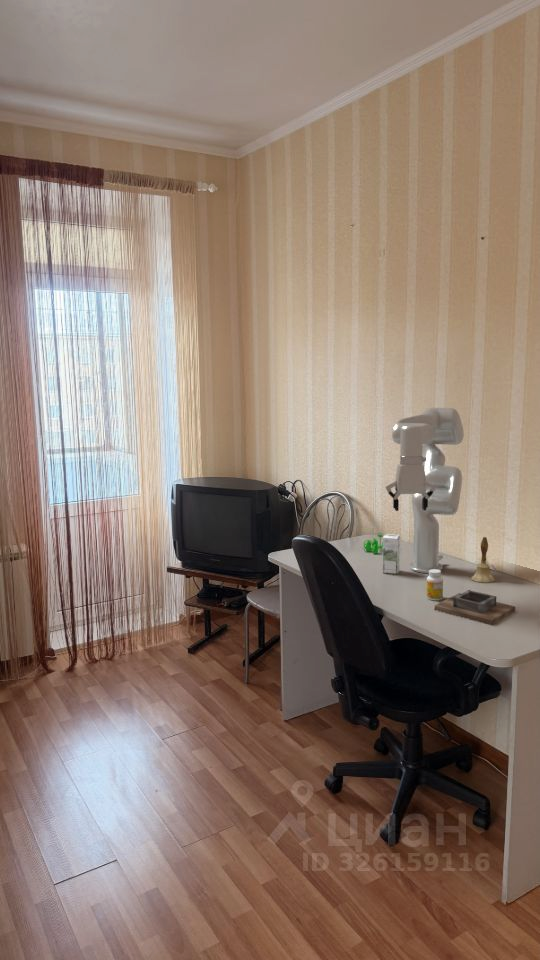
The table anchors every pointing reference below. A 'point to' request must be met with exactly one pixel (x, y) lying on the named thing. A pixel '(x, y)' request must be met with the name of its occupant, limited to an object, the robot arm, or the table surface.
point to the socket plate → (476, 607)
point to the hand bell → (483, 566)
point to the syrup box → (391, 553)
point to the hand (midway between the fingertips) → (410, 510)
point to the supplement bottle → (434, 585)
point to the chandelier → (373, 545)
